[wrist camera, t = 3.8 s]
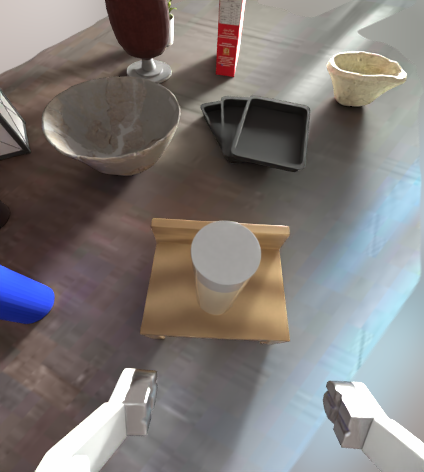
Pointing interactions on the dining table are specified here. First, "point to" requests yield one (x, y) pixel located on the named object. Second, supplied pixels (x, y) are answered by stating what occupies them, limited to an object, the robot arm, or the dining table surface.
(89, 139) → the ceramic bowl
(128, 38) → the mate gourd
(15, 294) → the beverage can
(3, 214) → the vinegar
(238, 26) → the food packaging
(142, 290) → the dining table surface
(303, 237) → the dining table surface
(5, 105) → the lantern
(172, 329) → the wooden stand
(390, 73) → the bowl
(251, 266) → the cylinder
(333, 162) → the dining table surface
